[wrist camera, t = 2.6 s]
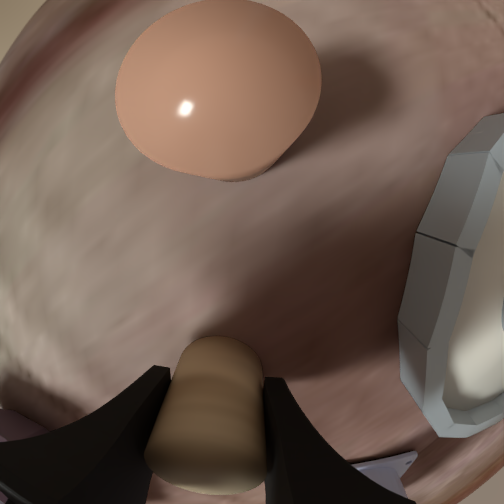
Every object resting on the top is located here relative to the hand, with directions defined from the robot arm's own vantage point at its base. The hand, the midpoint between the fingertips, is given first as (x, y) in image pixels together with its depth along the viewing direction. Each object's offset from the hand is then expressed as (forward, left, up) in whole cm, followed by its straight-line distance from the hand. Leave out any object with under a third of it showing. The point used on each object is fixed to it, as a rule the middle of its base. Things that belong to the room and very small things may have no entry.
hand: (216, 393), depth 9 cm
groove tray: (+4, -16, -1) cm, 17 cm away
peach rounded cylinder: (+9, 0, -2) cm, 9 cm away
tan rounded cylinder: (0, 0, -1) cm, 1 cm away
